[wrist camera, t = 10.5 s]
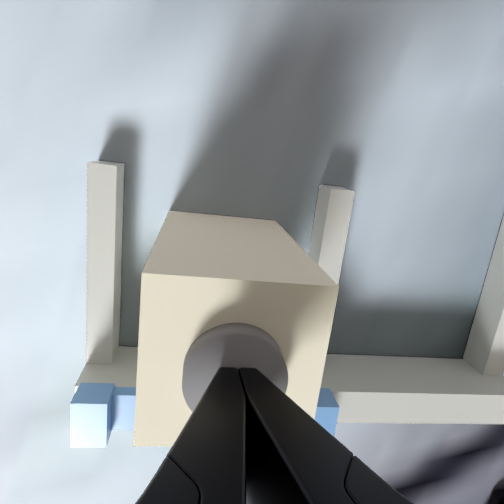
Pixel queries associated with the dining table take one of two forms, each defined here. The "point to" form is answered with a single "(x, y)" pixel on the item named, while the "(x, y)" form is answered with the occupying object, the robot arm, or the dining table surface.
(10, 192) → the dining table surface
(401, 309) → the dining table surface
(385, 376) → the white post rack
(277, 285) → the cream rectangular block
